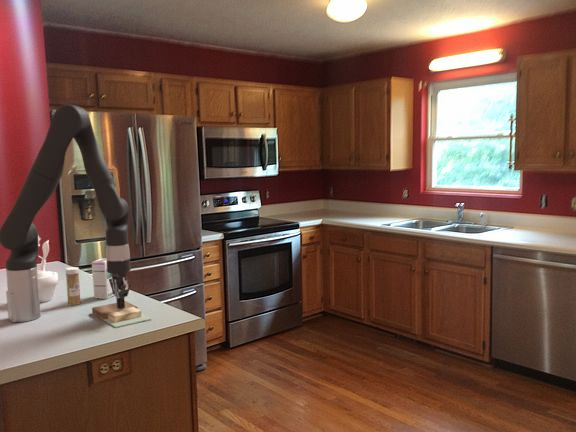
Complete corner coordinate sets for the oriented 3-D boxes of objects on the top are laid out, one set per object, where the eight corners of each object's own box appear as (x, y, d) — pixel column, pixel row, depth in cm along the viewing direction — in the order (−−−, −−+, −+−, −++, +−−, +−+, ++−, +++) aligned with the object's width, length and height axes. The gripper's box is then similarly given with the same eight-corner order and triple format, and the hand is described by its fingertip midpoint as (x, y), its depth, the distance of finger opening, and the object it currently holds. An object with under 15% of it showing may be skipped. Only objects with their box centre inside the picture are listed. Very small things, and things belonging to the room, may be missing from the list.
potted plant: (52, 294, 207) (48, 231, 204) (64, 300, 199) (60, 234, 196) (18, 301, 198) (13, 235, 195) (29, 307, 190) (23, 238, 187)
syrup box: (107, 299, 200) (105, 261, 198) (93, 298, 201) (91, 261, 199) (115, 295, 205) (113, 258, 203) (101, 294, 206) (99, 258, 205)
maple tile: (115, 322, 171) (114, 316, 171) (108, 318, 175) (107, 312, 175) (141, 316, 177) (141, 310, 176) (133, 312, 181) (133, 306, 181)
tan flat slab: (103, 320, 175) (102, 314, 174) (92, 313, 182) (92, 307, 182) (137, 312, 182) (137, 307, 182) (126, 306, 190) (125, 301, 190)
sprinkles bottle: (75, 306, 191) (72, 269, 189) (64, 305, 192) (62, 269, 191) (83, 302, 195) (81, 267, 194) (73, 301, 197) (71, 266, 195)
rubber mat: (115, 327, 167) (115, 326, 166) (103, 320, 174) (103, 319, 174) (151, 319, 174) (150, 318, 174) (138, 313, 182) (138, 311, 182)
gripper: (99, 256, 179) (102, 306, 181) (115, 262, 168) (117, 315, 171) (121, 253, 183) (123, 302, 185) (137, 259, 173) (139, 310, 175)
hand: (121, 308), depth 178 cm, fingers closed
